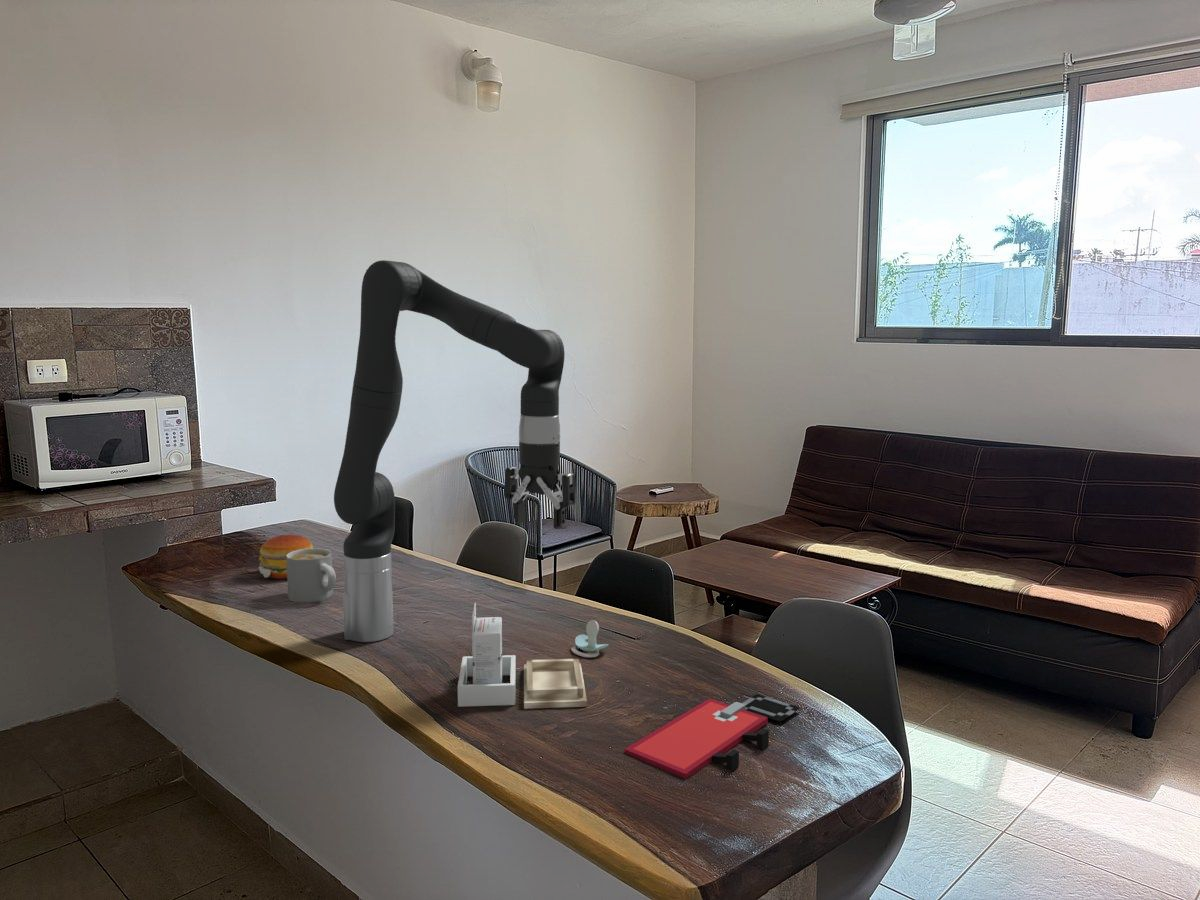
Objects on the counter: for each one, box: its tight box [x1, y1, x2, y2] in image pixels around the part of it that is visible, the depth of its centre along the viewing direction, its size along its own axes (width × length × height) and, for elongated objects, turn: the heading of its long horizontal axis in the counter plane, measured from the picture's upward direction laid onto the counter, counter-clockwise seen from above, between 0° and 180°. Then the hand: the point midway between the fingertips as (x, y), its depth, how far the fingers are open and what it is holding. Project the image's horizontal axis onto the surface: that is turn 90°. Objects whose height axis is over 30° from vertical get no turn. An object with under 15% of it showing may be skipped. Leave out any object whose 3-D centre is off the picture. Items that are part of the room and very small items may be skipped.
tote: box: [457, 654, 517, 708], centre depth 150 cm, size 10×13×4 cm
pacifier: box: [571, 619, 609, 658], centre depth 167 cm, size 7×6×6 cm
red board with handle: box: [624, 693, 801, 780], centre depth 135 cm, size 30×3×15 cm
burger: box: [258, 533, 314, 579], centre depth 216 cm, size 14×14×10 cm
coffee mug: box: [286, 547, 337, 603], centre depth 198 cm, size 13×10×10 cm
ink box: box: [471, 601, 503, 684], centre depth 149 cm, size 9×5×15 cm, turn 5°
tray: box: [523, 658, 588, 710], centre depth 151 cm, size 10×16×2 cm, turn 5°
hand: (539, 525), depth 161 cm, fingers open, 8 cm apart
